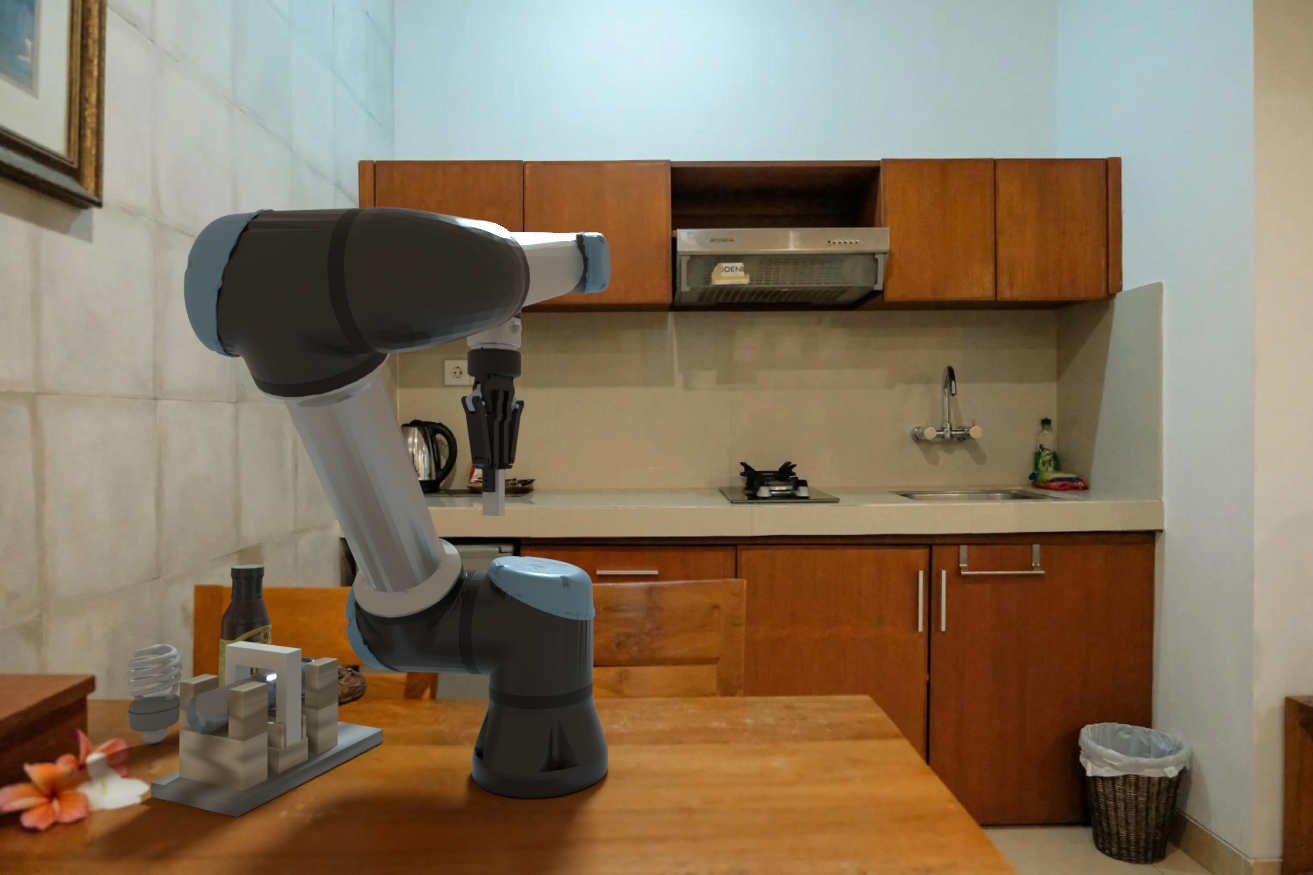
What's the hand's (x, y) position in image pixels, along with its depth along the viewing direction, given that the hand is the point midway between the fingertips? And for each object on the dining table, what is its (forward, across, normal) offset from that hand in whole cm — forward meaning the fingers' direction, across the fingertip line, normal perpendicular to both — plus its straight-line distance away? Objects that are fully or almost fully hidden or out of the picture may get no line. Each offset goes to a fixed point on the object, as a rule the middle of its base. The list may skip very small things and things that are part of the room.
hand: (493, 515), depth 113 cm
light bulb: (+27, -29, +29) cm, 49 cm away
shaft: (+20, -31, +10) cm, 38 cm away
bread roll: (+27, -7, +24) cm, 36 cm away
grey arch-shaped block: (+22, -30, +10) cm, 39 cm away
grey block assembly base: (+26, -28, +10) cm, 40 cm away
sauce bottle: (+27, -17, +28) cm, 42 cm away
